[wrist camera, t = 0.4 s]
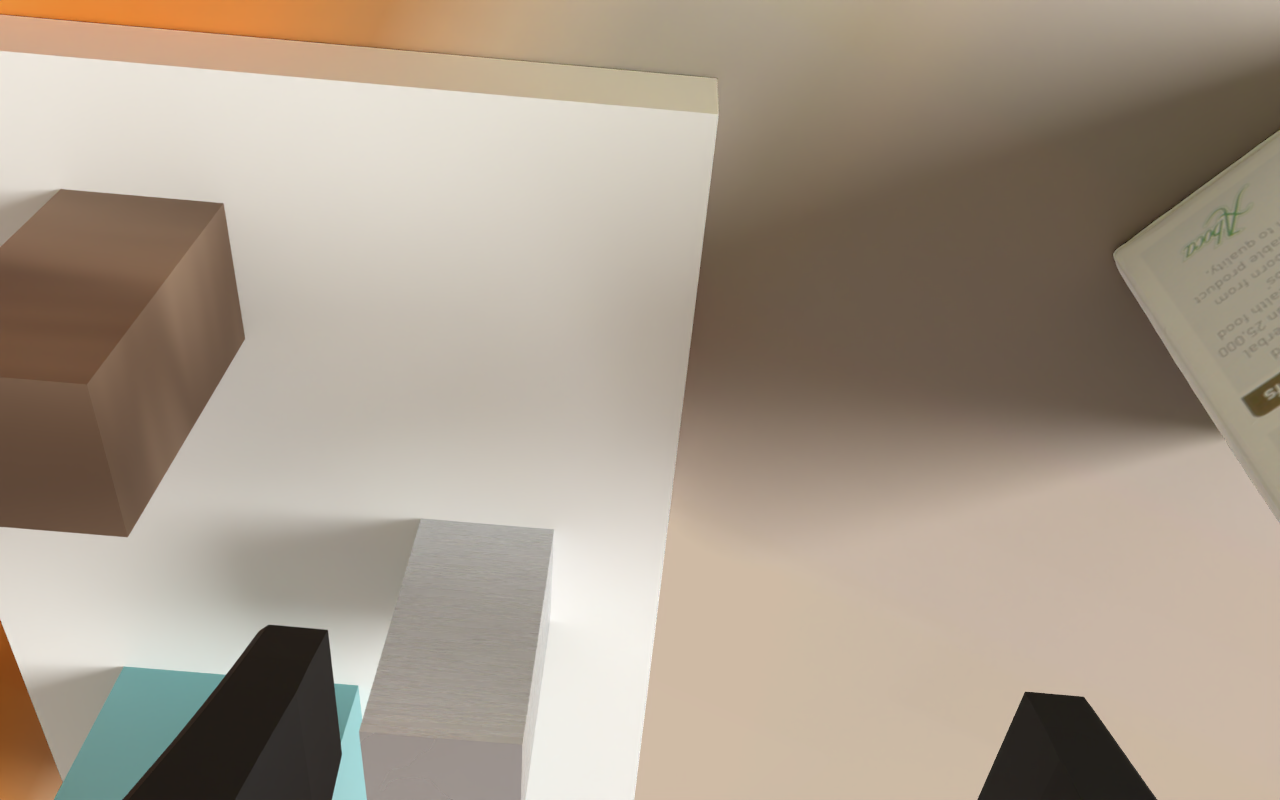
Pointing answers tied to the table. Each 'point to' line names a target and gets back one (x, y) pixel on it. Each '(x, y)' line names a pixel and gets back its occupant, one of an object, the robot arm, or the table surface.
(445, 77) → the post board
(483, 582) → the steel post
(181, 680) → the teal rectangular block
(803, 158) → the table surface
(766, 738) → the table surface
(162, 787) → the robot arm
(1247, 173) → the syrup box
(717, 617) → the table surface
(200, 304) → the walnut post
